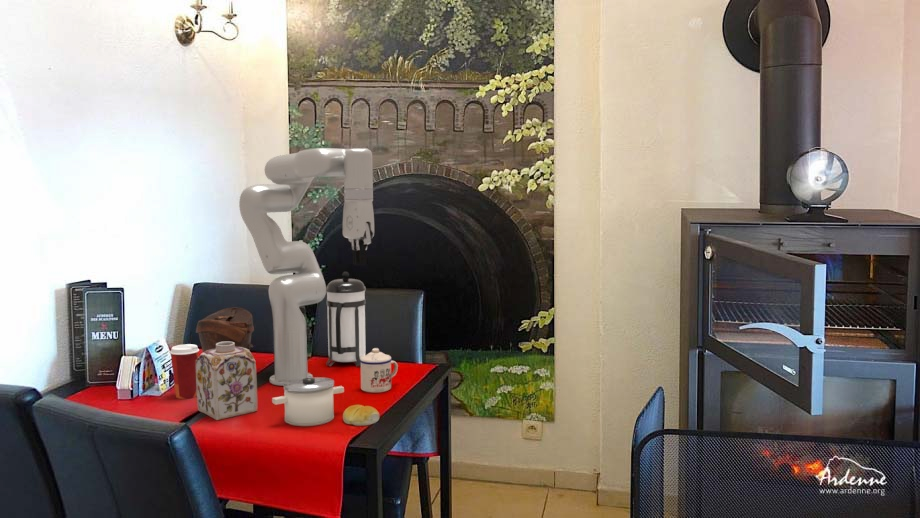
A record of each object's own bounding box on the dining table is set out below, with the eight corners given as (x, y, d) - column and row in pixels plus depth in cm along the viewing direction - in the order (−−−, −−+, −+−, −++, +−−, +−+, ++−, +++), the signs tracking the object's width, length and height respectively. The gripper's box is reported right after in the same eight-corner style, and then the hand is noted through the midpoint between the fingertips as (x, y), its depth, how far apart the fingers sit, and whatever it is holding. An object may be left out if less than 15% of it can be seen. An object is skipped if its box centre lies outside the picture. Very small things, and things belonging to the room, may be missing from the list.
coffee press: (313, 362, 248) (311, 271, 245) (356, 355, 257) (354, 267, 254) (337, 373, 234) (335, 277, 231) (382, 365, 243) (381, 273, 240)
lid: (276, 385, 191) (275, 378, 191) (321, 378, 198) (321, 371, 198) (295, 394, 180) (294, 387, 180) (342, 386, 188) (342, 379, 187)
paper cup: (206, 393, 212) (205, 344, 211) (188, 401, 205) (186, 350, 203) (183, 391, 215) (181, 342, 213) (165, 398, 207) (162, 348, 206)
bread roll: (356, 414, 194) (356, 398, 194) (384, 420, 189) (384, 404, 189) (335, 422, 187) (334, 407, 187) (363, 429, 183) (362, 413, 182)
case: (204, 376, 230) (202, 318, 228) (191, 363, 247) (189, 308, 245) (262, 369, 239) (261, 313, 237) (246, 357, 256) (245, 305, 254)
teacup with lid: (371, 395, 210) (371, 354, 209) (354, 388, 217) (353, 348, 216) (406, 387, 218) (406, 347, 217) (388, 380, 225) (387, 342, 224)
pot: (265, 418, 190) (264, 387, 189) (332, 405, 200) (331, 376, 200) (283, 432, 180) (283, 399, 179) (353, 417, 190) (352, 386, 190)
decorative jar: (238, 401, 205) (236, 336, 203) (259, 411, 196) (256, 343, 194) (195, 410, 197) (192, 343, 195) (215, 421, 188) (212, 350, 186)
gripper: (333, 195, 203) (334, 263, 205) (359, 196, 191) (360, 268, 193) (358, 195, 208) (359, 261, 210) (385, 196, 195) (386, 266, 197)
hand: (359, 264), depth 201 cm, fingers closed
